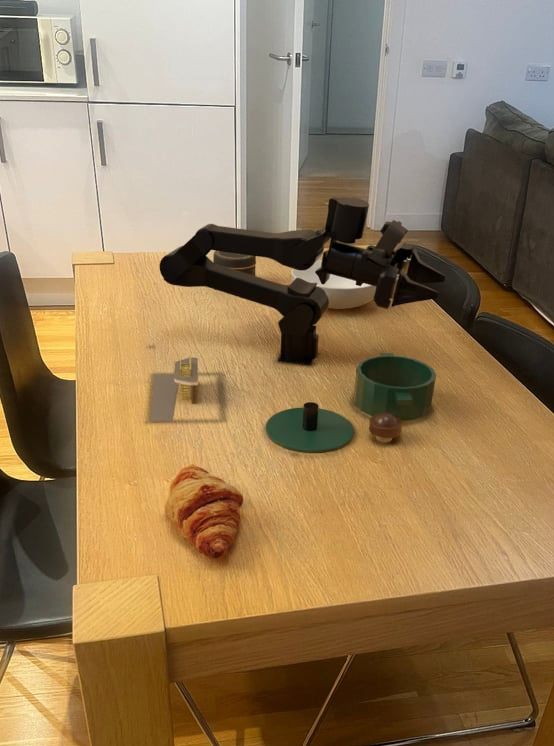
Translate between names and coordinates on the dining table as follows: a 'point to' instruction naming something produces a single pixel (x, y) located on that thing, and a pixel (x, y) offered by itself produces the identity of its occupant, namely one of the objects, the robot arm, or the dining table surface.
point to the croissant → (204, 510)
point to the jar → (236, 261)
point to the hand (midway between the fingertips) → (441, 286)
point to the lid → (309, 429)
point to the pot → (394, 386)
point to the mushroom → (385, 426)
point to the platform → (173, 389)
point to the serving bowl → (338, 288)
